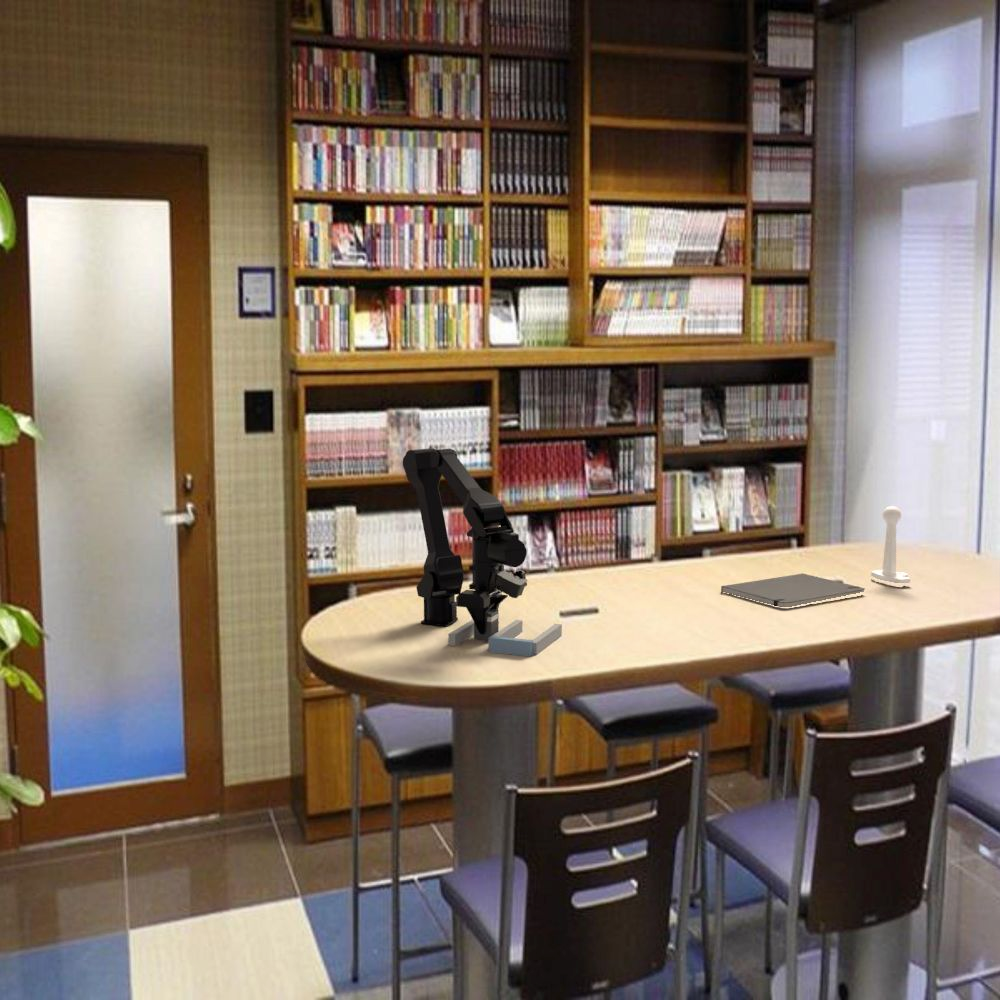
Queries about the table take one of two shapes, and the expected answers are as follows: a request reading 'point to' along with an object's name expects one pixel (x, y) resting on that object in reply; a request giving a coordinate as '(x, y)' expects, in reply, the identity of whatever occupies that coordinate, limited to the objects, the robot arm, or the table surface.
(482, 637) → the grey capped block
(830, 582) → the notebook
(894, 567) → the joystick
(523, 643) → the grey rectangular bars
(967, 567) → the table surface
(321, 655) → the table surface
